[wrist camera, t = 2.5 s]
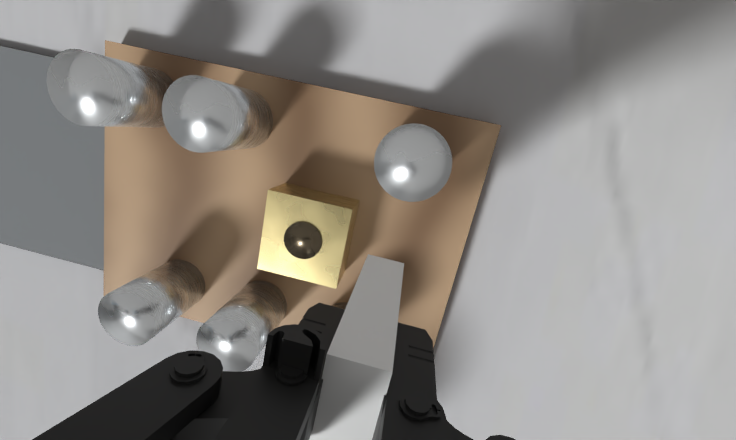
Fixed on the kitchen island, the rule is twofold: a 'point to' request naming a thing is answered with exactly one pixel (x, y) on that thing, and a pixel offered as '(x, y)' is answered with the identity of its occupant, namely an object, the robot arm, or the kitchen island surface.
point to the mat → (47, 168)
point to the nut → (307, 234)
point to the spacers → (209, 134)
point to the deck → (278, 166)
